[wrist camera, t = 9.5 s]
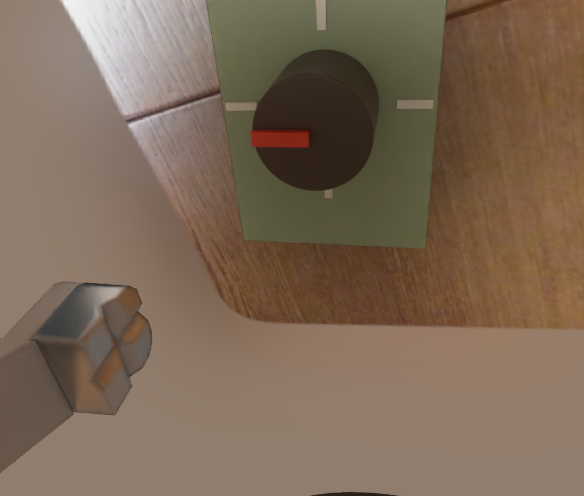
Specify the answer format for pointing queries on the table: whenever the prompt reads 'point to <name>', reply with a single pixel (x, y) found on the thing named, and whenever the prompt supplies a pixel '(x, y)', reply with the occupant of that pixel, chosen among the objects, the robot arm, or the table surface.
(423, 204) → the panel
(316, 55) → the lock knob
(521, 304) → the table surface
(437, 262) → the table surface
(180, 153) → the table surface
